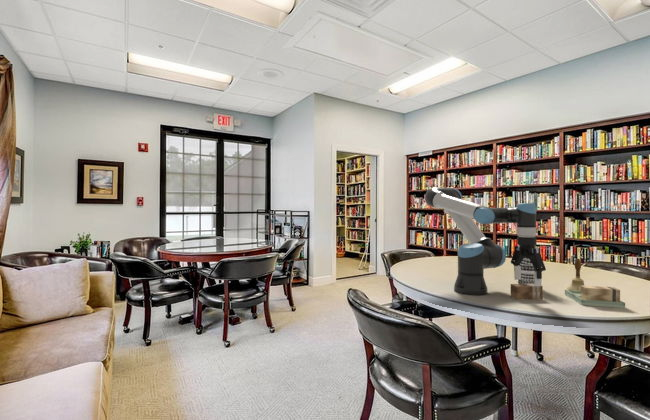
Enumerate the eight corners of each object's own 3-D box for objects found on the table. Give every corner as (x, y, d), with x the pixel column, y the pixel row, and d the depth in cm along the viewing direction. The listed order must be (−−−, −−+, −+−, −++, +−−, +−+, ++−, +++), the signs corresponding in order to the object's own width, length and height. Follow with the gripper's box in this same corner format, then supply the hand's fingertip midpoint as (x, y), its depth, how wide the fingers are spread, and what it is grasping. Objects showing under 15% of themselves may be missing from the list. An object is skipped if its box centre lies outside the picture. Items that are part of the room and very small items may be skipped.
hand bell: (592, 292, 155) (592, 260, 155) (573, 291, 156) (573, 259, 156) (582, 288, 163) (582, 257, 163) (564, 287, 165) (564, 257, 164)
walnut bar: (516, 299, 143) (516, 286, 143) (510, 296, 148) (510, 283, 148) (542, 299, 144) (542, 285, 144) (535, 296, 148) (535, 283, 148)
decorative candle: (536, 285, 169) (536, 238, 169) (538, 289, 161) (538, 240, 161) (516, 283, 174) (516, 238, 173) (517, 287, 165) (517, 239, 165)
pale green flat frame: (581, 304, 135) (581, 299, 135) (564, 294, 152) (564, 289, 152) (625, 308, 131) (625, 302, 131) (602, 296, 147) (602, 292, 147)
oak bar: (585, 301, 136) (585, 287, 136) (580, 298, 140) (580, 285, 140) (620, 304, 132) (620, 289, 132) (613, 301, 137) (613, 287, 137)
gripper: (555, 238, 133) (556, 288, 133) (517, 234, 158) (517, 276, 158) (538, 238, 133) (538, 289, 133) (502, 234, 158) (503, 277, 158)
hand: (527, 282), depth 145 cm, fingers open, 13 cm apart
